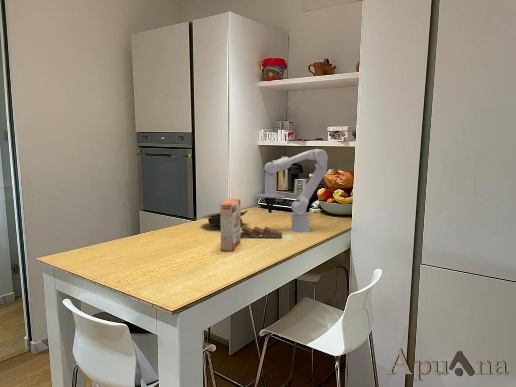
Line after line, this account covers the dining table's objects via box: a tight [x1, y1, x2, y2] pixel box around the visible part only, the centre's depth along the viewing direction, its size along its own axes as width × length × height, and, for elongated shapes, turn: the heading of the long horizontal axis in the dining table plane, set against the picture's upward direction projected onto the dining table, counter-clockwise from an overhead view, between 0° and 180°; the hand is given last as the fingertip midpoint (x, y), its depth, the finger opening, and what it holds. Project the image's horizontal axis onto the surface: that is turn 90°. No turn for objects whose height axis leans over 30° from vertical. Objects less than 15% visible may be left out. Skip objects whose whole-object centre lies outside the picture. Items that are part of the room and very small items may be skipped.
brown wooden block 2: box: [240, 224, 260, 238], centre depth 190 cm, size 2×5×9 cm
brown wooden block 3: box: [253, 225, 272, 239], centre depth 190 cm, size 2×5×9 cm
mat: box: [243, 234, 293, 241], centre depth 190 cm, size 23×9×1 cm, turn 84°
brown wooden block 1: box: [240, 231, 251, 239], centre depth 191 cm, size 2×5×9 cm
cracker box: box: [219, 198, 242, 252], centre depth 175 cm, size 14×6×21 cm, turn 168°
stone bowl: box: [202, 210, 248, 227], centre depth 216 cm, size 25×25×9 cm
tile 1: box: [263, 225, 283, 239], centre depth 189 cm, size 2×5×9 cm
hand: (270, 212), depth 200 cm, fingers closed
